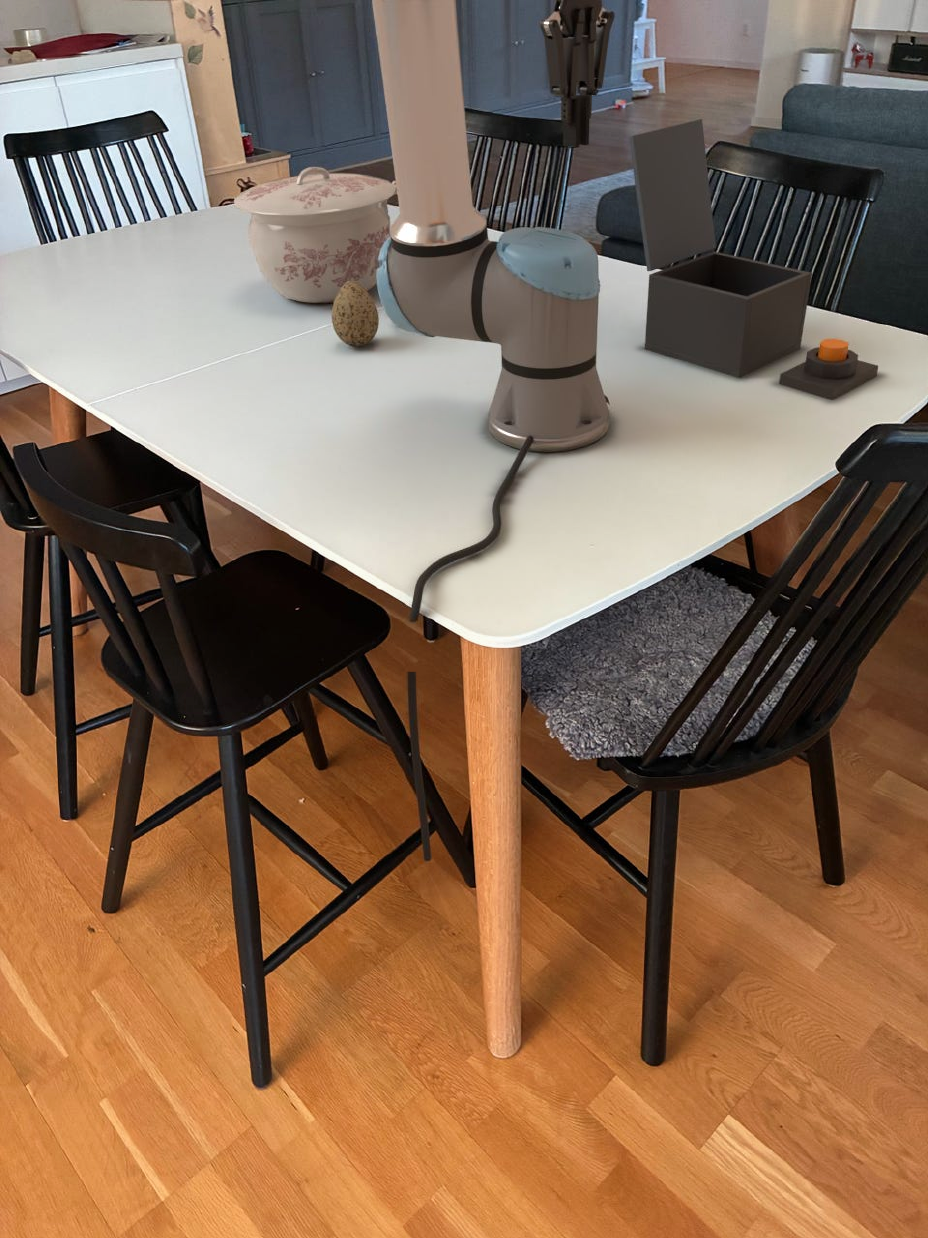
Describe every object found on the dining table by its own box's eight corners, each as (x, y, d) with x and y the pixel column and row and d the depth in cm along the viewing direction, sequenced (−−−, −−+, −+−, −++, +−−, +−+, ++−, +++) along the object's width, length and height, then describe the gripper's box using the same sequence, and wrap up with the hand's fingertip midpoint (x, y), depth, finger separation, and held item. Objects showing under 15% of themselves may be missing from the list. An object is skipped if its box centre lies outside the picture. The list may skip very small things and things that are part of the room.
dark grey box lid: (702, 118, 138) (697, 119, 139) (633, 135, 130) (628, 136, 131) (716, 247, 145) (711, 248, 146) (651, 270, 138) (647, 271, 138)
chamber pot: (225, 314, 167) (199, 185, 154) (285, 267, 188) (267, 150, 176) (380, 320, 160) (366, 185, 148) (425, 270, 182) (416, 149, 170)
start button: (851, 357, 130) (854, 342, 129) (836, 365, 128) (839, 350, 127) (827, 351, 132) (829, 336, 131) (812, 358, 130) (814, 343, 129)
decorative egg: (390, 341, 152) (384, 277, 146) (361, 356, 148) (354, 290, 142) (355, 334, 156) (347, 271, 150) (326, 349, 151) (317, 284, 145)
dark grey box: (800, 348, 141) (812, 272, 135) (738, 378, 134) (748, 299, 128) (706, 322, 152) (713, 251, 146) (644, 348, 144) (649, 274, 138)
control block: (876, 376, 132) (881, 351, 130) (831, 400, 127) (836, 374, 125) (824, 361, 137) (828, 337, 135) (778, 384, 132) (782, 359, 130)
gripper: (594, -46, 140) (590, 134, 153) (522, -39, 132) (524, 150, 146) (634, -47, 135) (626, 139, 149) (561, -40, 128) (560, 156, 141)
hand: (575, 144), depth 147 cm, fingers closed
